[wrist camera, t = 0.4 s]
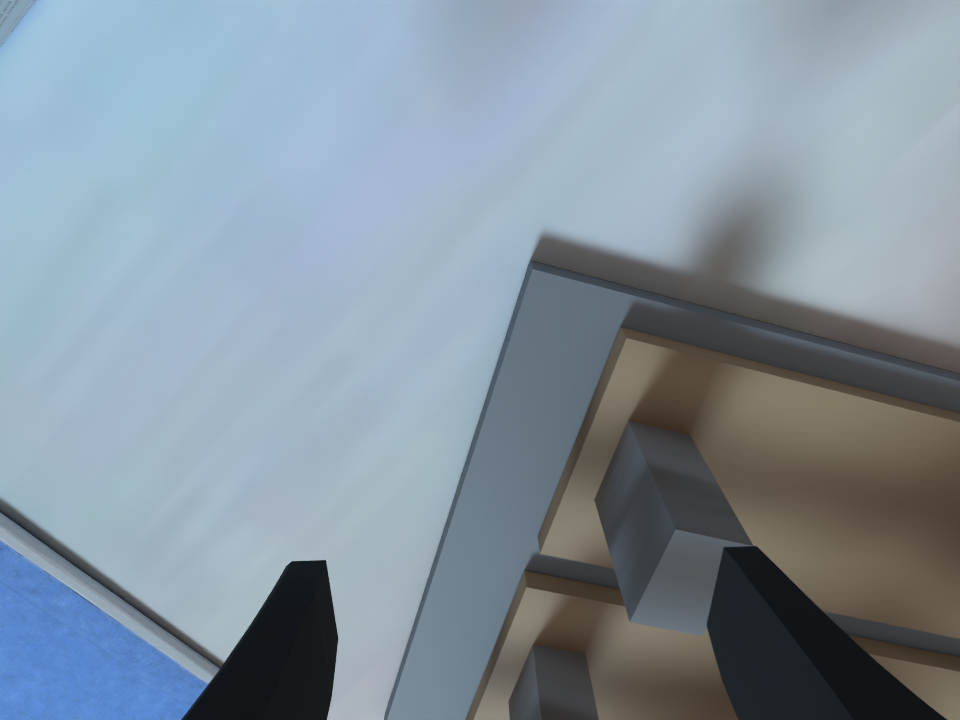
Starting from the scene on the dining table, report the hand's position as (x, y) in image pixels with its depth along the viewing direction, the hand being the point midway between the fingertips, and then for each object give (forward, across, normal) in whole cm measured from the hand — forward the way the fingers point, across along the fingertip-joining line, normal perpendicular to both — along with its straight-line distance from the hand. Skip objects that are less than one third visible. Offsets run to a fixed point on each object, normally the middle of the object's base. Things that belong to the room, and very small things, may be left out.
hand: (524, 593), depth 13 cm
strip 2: (+9, -16, +7) cm, 20 cm away
